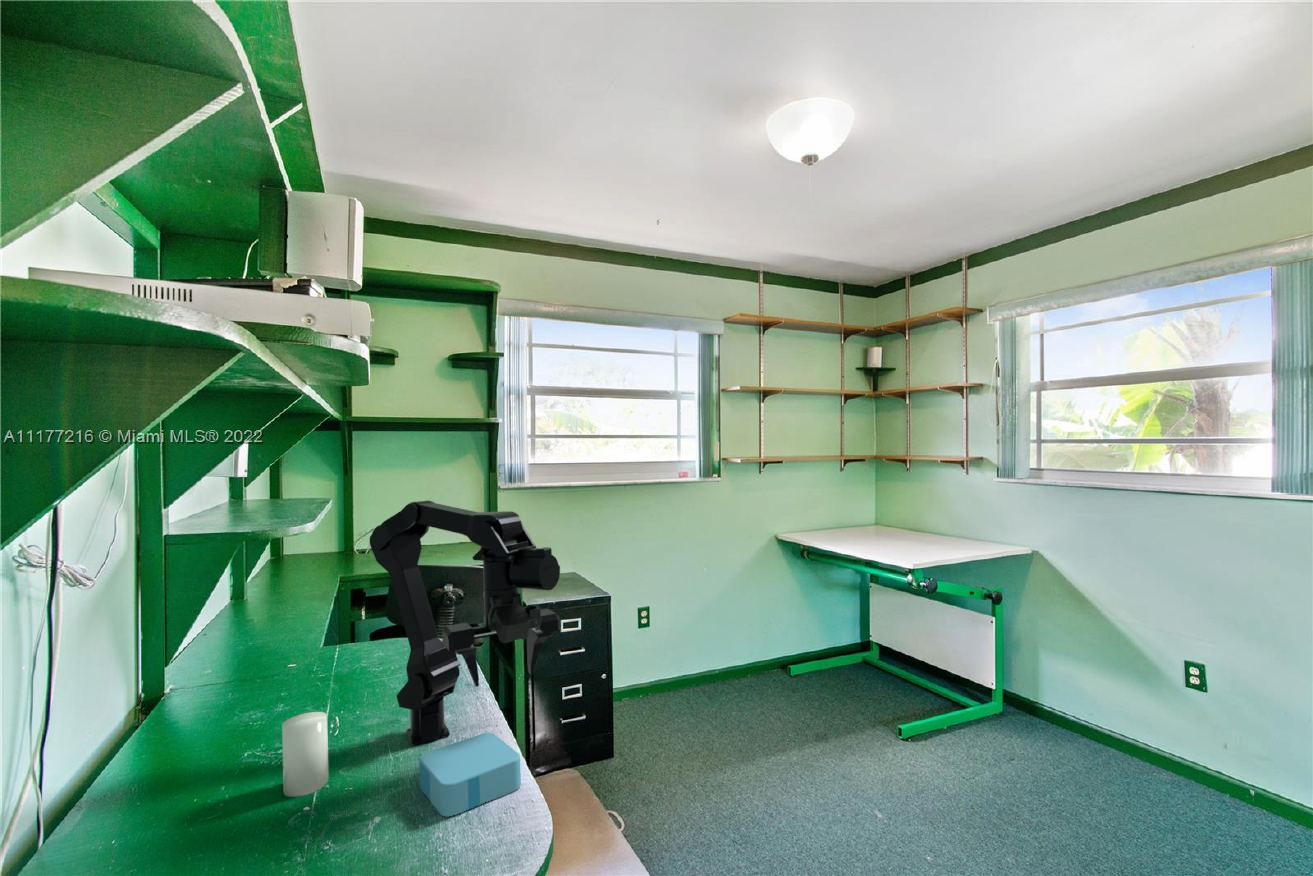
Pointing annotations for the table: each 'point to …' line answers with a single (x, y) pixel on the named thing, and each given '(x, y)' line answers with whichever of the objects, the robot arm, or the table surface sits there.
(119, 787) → the table surface
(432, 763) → the light blue rounded block
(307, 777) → the white rounded cylinder
